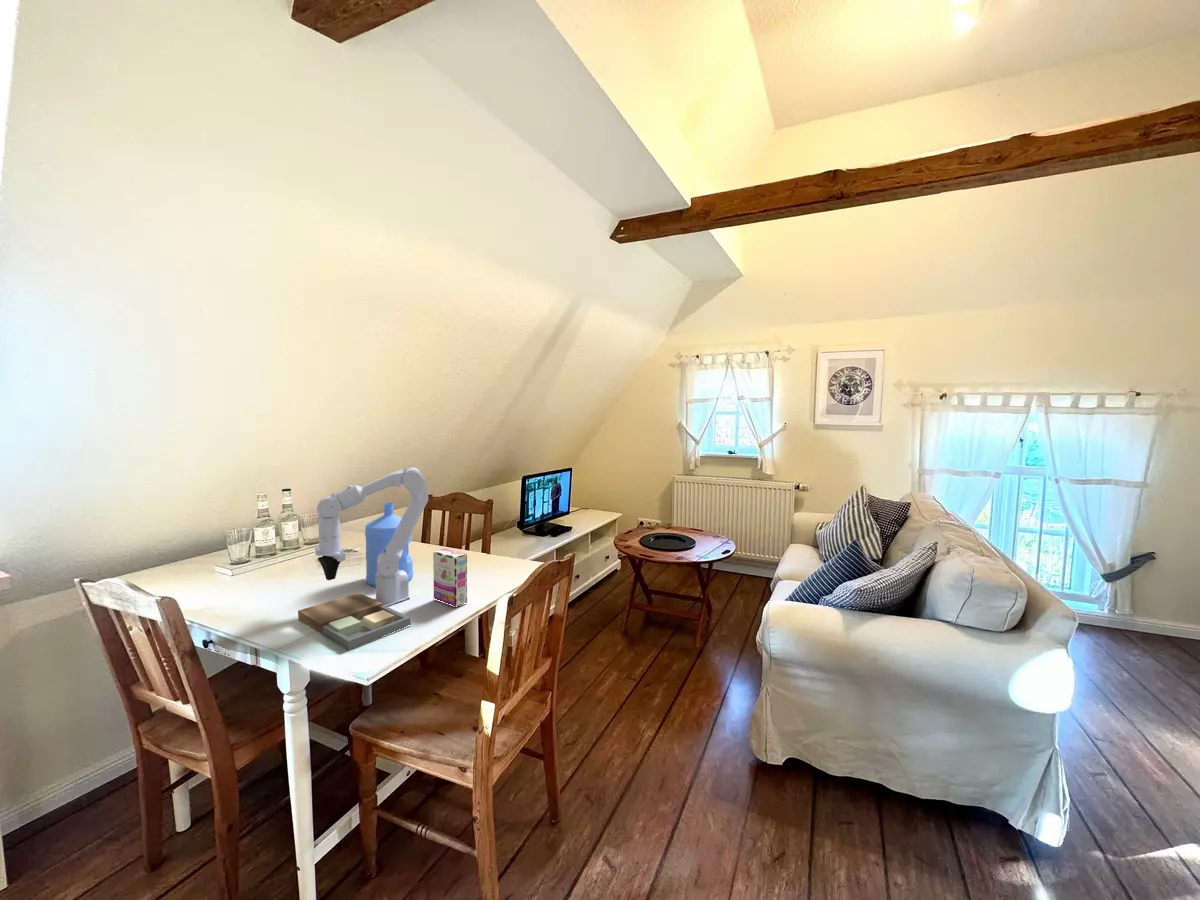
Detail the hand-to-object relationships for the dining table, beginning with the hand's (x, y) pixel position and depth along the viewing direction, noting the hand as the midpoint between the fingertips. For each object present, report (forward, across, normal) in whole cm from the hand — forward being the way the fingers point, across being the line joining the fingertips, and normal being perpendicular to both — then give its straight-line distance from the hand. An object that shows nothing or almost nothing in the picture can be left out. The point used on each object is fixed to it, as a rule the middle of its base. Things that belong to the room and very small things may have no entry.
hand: (330, 579), depth 151 cm
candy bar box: (+10, +24, +26) cm, 37 cm away
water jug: (+10, -9, +25) cm, 28 cm away
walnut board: (+9, +8, -1) cm, 12 cm away
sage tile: (+9, +19, -6) cm, 22 cm away
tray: (+9, +22, -1) cm, 24 cm away
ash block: (+6, +23, +2) cm, 24 cm away
